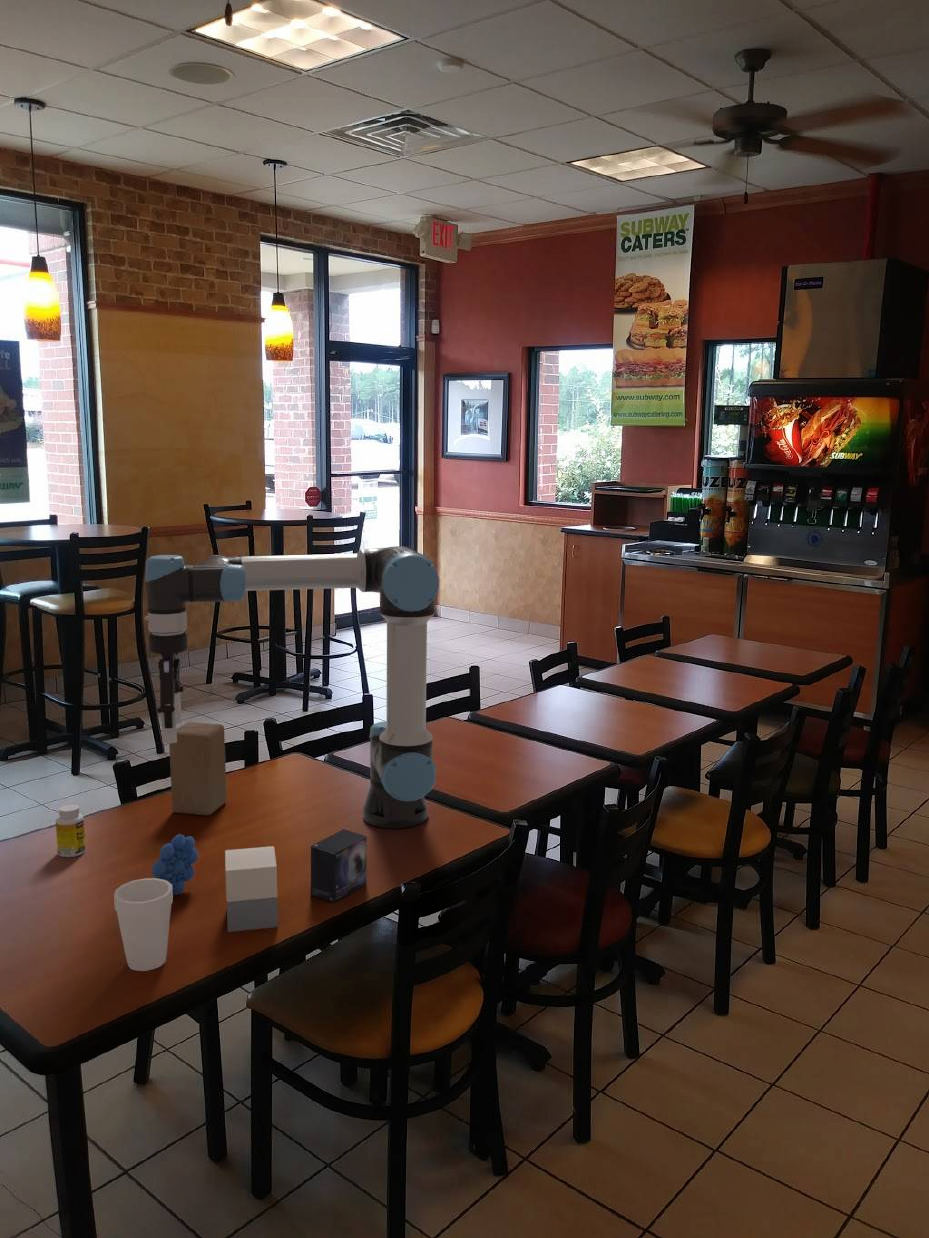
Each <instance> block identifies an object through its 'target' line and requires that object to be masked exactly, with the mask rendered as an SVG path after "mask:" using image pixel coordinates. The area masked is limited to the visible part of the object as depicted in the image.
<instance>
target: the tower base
mask: <svg viewBox="0 0 929 1238" xmlns="http://www.w3.org/2000/svg"><path fill="white" fill-rule="evenodd" d="M278 903H279V902H278V896H277V897H272V898H262V899H252V900H242V901H231V902H227V901H226V915H227V917H226V919H227V933H233V932H240V931H241V932H243V931H250V930H251V931H252V930H261V929H270V928H279V906H278V905H279V904H278Z"/></svg>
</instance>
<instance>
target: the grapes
mask: <svg viewBox="0 0 929 1238" xmlns="http://www.w3.org/2000/svg"><path fill="white" fill-rule="evenodd" d="M195 844H196V841H195V839H194V837H193V836H192V835H191V836H190V835H188V836H186V837H185V835H183V834H182V833H179V834H176V835H175V836H174V837H173V838H172V839H171V842H169V843H165V844H164V845H163V846H162V847H161V848H160V850H159V858H160V859H159V860H157V861H155V862H154V863H153V865H152V867H151V874H152V875H153V877H154V878H158V879H162V880H167V881H168V882H169V883H171V884H172V890H173V896H178V895H180V894H182V892H183V891H184V889H185V882H189V881H190V880H192V878H193V877H194V875H195V868H194V867H193V864H194V863H196V862H197V860H198V858H199V852H198V850H197V849H196V848H195Z"/></svg>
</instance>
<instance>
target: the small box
mask: <svg viewBox="0 0 929 1238" xmlns="http://www.w3.org/2000/svg"><path fill="white" fill-rule="evenodd" d="M367 838H368V837H367V835H364V834H360V833H358V832H354V831H351V830H348V829H343V828H342V829H341V830H339V831H338V832H335V833H334V834H331V835H330V836H328V837H325V838H324V839H321V840H320V841H317V842H315V843H314V844H312V845H310V893H309V894H310V896H312V897H316V898H318V899H321V900H324V901H326V902H330V903H332V904H335V903H337V902H338V901H340V900H342V899H343V898H345V897H346V896H348V895H350V894H351V893H354V892H355V891H357V890H358V889H361V888H362V887H363V886H365V885H366V884H367V873H368V872H367V864H368V863H367V862H368V861H367V859H368V858H367V857H368V856H367V849H368V844H367V842H368V841H367V840H368V839H367Z"/></svg>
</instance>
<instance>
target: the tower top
mask: <svg viewBox="0 0 929 1238" xmlns="http://www.w3.org/2000/svg"><path fill="white" fill-rule="evenodd" d="M275 851H276V850H275V846H273V845H272V846H262V847H261V846H260V847H249V848H248V847H247V848H237V849H236V848H235V849H226V850H225V851H224V853H225V855H224V857H225V858H224V859H225V861H224V862H225V863H224V864H225V865H224V866H225V892H226V893H225V895H226V896H225V897H226V903H227V902H231V901H242V900H252V899H262V898H272V897H278V873H277V871H278V870H277V869H278V867H277V859H276V852H275Z"/></svg>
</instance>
